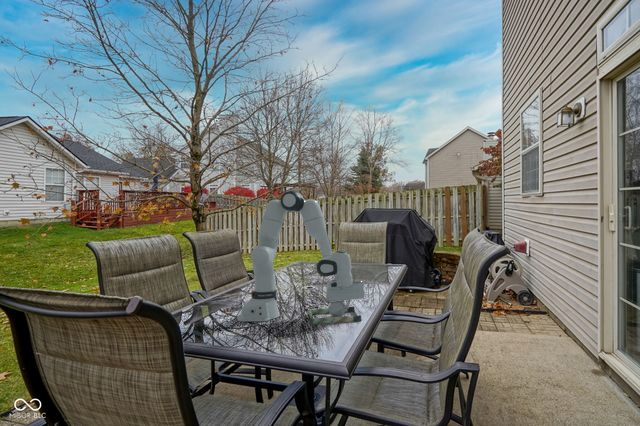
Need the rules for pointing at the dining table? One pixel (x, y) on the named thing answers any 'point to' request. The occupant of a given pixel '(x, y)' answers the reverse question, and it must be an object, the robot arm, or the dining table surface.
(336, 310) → the die
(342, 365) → the dining table surface
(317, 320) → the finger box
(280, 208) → the robot arm
